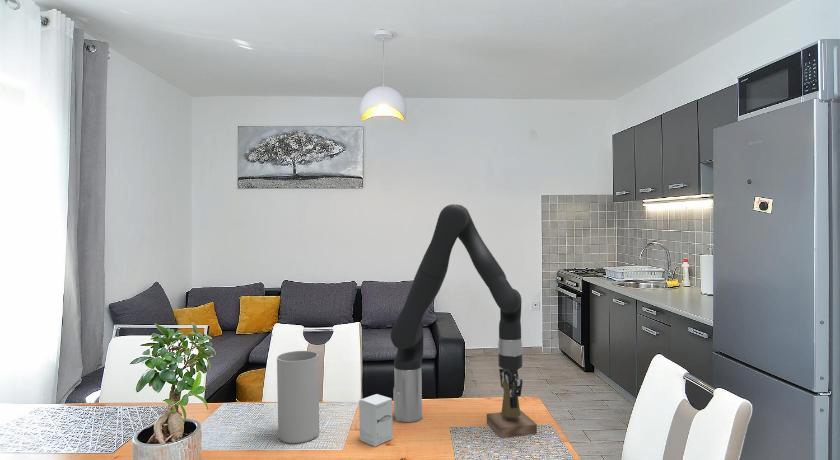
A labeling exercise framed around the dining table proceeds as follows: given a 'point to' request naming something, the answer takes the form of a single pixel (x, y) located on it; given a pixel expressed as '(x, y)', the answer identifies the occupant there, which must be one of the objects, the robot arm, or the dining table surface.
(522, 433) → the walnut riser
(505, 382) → the olive knob-ended peg
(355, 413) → the dining table surface
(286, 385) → the cylinder vase
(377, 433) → the supplement box
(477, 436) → the dining table surface
